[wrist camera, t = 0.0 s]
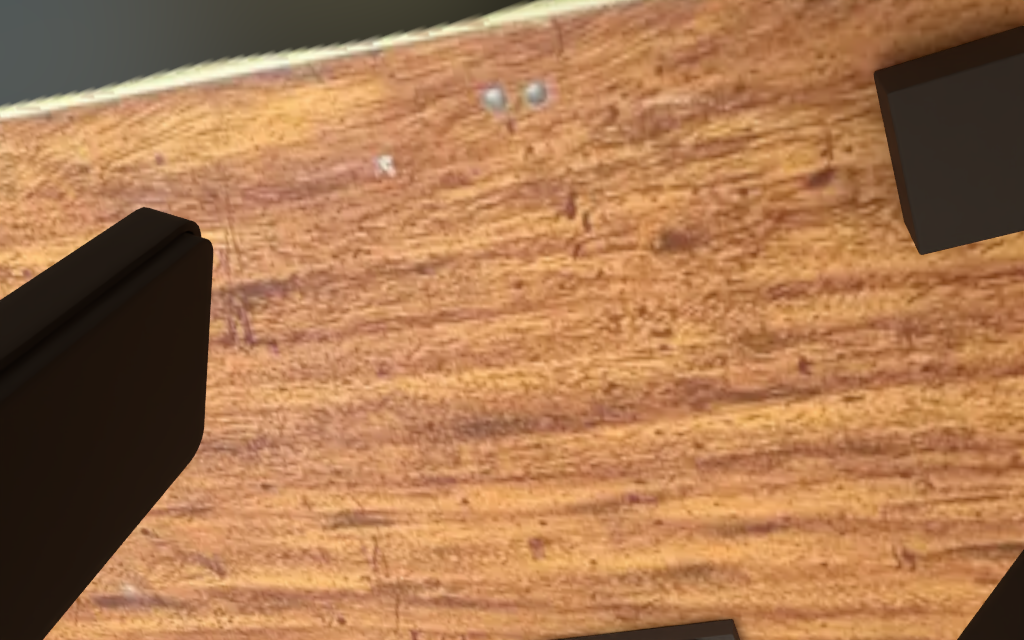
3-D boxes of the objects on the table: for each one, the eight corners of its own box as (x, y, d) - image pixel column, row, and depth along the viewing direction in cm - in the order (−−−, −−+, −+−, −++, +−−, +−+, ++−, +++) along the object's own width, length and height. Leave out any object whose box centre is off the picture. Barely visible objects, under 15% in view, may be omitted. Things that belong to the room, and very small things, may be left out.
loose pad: (872, 71, 31) (886, 93, 29) (1030, 22, 30) (1060, 41, 27) (904, 223, 34) (919, 256, 31) (1052, 186, 32) (1081, 217, 29)
